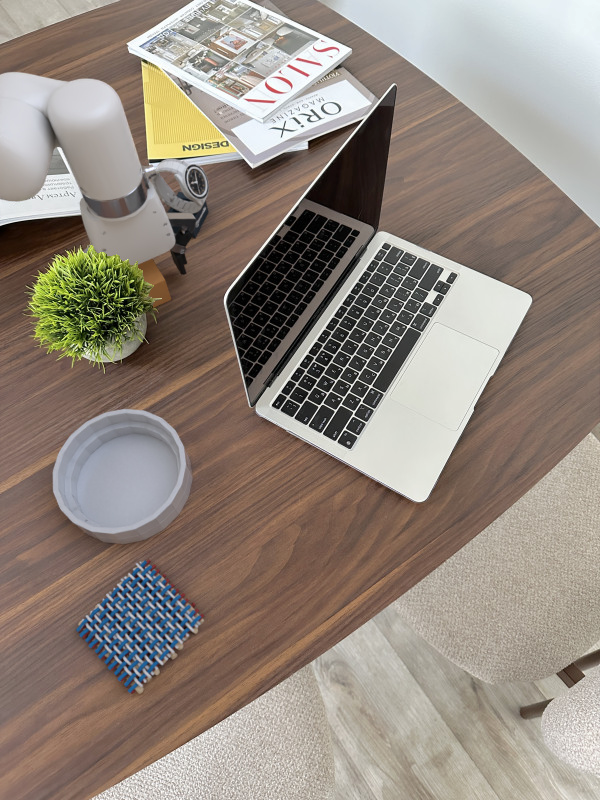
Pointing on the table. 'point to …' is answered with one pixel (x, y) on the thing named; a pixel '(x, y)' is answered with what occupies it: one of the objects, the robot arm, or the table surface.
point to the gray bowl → (122, 476)
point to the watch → (184, 190)
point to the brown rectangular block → (155, 282)
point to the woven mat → (140, 625)
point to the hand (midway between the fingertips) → (149, 281)
